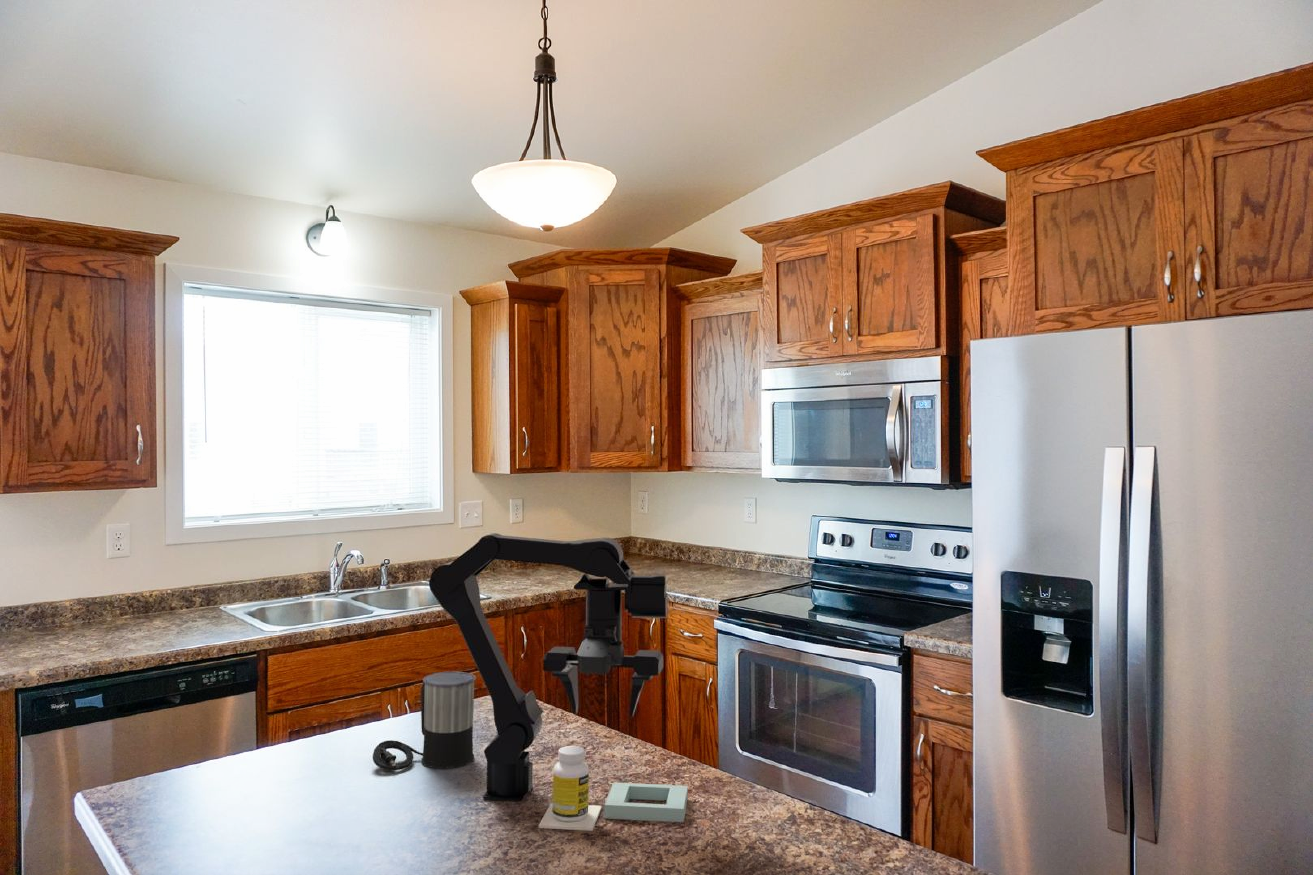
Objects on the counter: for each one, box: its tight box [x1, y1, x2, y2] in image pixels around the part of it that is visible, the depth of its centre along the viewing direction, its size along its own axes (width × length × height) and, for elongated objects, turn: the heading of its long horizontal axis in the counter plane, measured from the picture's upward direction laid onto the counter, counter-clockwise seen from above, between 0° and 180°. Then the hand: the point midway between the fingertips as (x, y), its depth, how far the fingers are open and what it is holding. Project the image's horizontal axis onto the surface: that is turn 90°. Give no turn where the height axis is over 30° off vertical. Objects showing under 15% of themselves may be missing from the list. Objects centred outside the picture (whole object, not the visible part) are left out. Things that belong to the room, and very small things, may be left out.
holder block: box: [603, 781, 689, 823], centre depth 133 cm, size 12×9×2 cm
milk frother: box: [372, 671, 477, 771], centre depth 152 cm, size 14×16×15 cm
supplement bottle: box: [552, 745, 590, 822], centre depth 130 cm, size 5×5×10 cm
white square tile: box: [538, 802, 603, 832], centre depth 129 cm, size 8×8×1 cm
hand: (603, 714), depth 138 cm, fingers open, 9 cm apart
